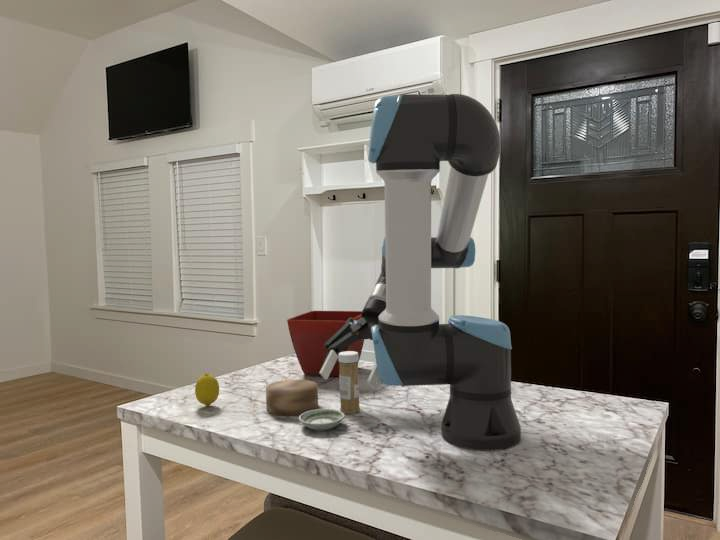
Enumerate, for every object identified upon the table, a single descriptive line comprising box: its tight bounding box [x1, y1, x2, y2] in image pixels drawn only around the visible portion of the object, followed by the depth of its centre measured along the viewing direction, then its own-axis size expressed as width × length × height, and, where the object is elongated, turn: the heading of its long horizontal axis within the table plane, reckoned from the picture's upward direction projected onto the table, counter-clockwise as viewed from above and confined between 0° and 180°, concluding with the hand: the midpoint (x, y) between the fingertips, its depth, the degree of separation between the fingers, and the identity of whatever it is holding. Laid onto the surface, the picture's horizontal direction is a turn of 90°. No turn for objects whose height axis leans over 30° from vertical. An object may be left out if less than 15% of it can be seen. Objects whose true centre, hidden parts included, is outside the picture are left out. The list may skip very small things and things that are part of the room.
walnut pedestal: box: [265, 379, 319, 417], centre depth 124 cm, size 12×12×5 cm
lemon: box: [194, 373, 220, 407], centre depth 126 cm, size 6×6×8 cm
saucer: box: [298, 408, 346, 432], centre depth 111 cm, size 10×10×2 cm
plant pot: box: [286, 310, 365, 377], centre depth 158 cm, size 19×19×17 cm
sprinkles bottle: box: [338, 351, 361, 415], centre depth 121 cm, size 5×5×14 cm
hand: (346, 380), depth 120 cm, fingers open, 13 cm apart
